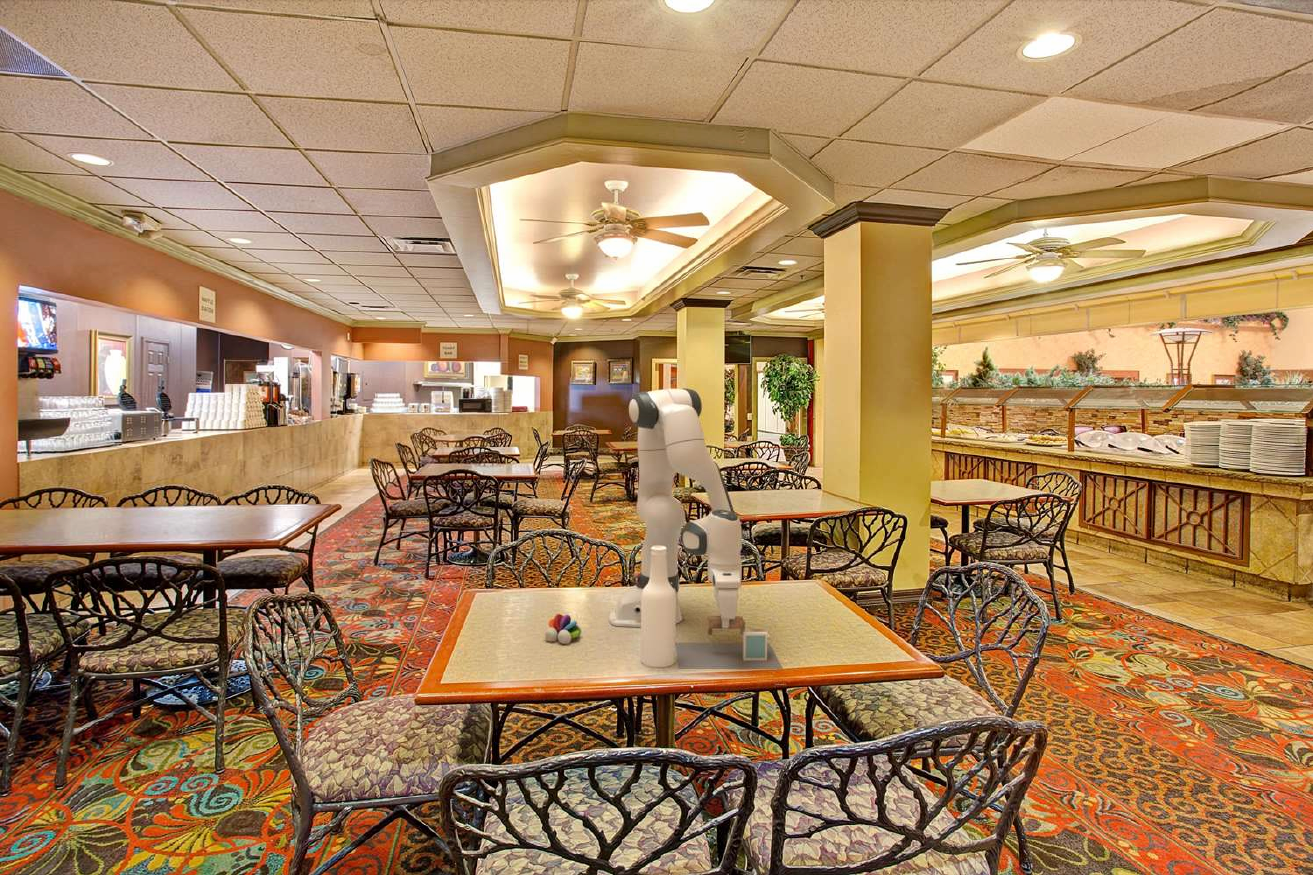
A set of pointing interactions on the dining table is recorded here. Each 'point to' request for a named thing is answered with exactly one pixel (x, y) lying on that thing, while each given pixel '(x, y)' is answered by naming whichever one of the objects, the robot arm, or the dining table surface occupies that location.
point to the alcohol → (658, 614)
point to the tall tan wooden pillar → (731, 625)
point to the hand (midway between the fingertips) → (724, 624)
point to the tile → (754, 645)
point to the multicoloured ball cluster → (562, 629)
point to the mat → (721, 657)
